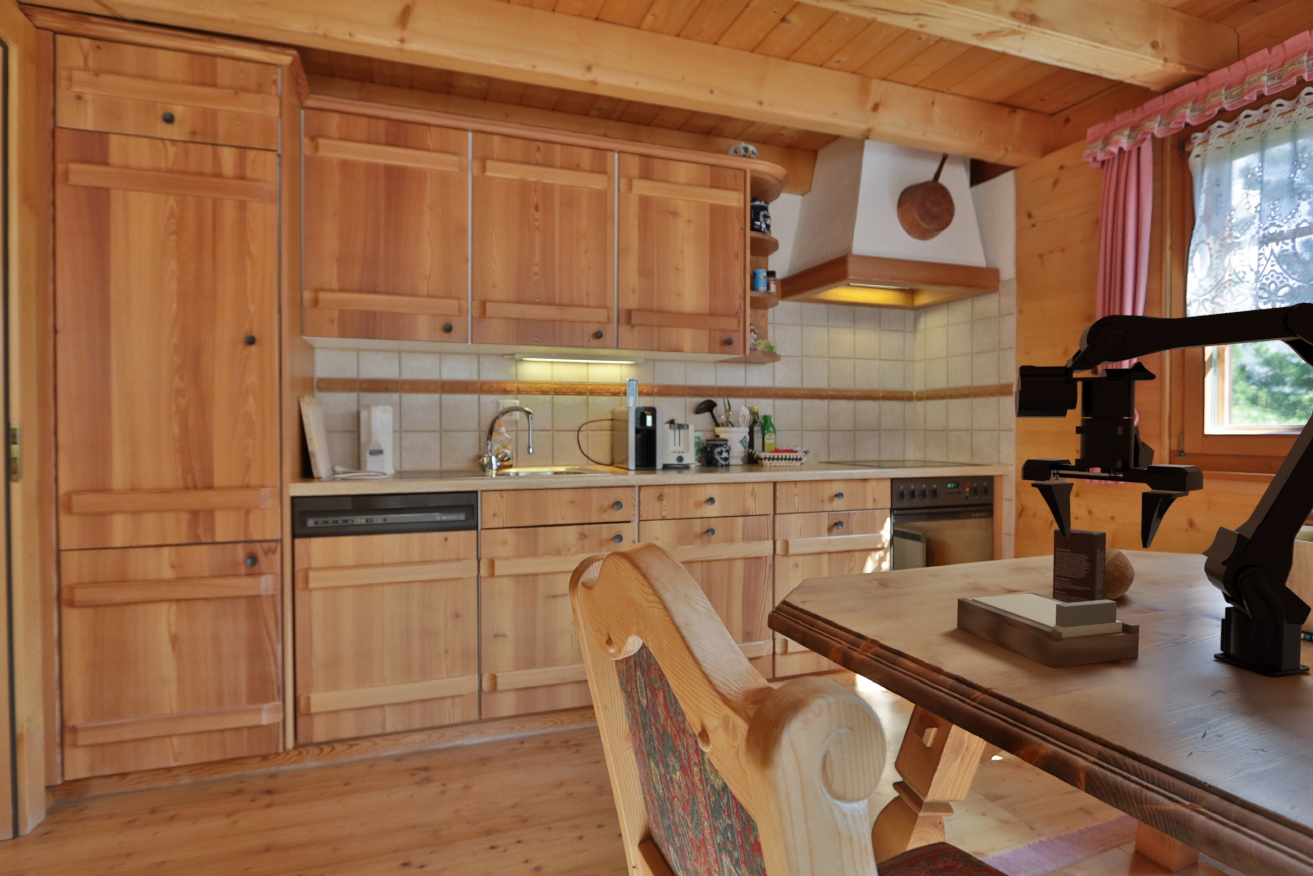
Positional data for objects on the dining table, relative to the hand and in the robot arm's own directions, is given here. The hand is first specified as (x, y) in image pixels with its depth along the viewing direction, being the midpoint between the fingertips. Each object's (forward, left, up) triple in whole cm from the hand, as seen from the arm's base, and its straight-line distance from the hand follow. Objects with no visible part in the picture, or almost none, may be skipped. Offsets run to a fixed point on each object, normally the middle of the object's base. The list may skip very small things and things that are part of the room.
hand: (1104, 542), depth 89 cm
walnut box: (+4, +6, -13) cm, 15 cm away
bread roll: (+22, -24, -14) cm, 36 cm away
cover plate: (+4, +6, -10) cm, 12 cm away
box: (+15, -12, -14) cm, 24 cm away
